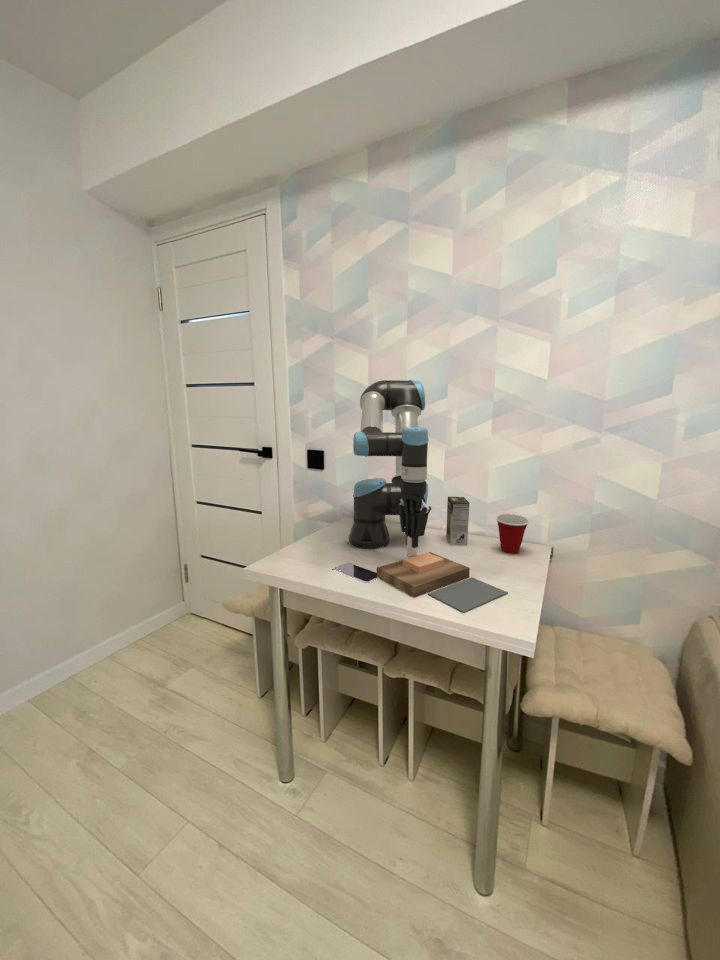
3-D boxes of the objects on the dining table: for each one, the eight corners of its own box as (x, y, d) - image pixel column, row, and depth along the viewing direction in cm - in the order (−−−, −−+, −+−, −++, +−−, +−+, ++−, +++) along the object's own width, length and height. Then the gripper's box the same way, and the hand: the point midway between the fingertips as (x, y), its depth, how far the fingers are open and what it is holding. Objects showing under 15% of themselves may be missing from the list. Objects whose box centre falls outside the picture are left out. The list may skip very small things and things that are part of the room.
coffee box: (445, 537, 156) (447, 496, 153) (462, 537, 155) (464, 496, 153) (449, 545, 147) (451, 501, 144) (467, 545, 146) (470, 502, 144)
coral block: (402, 565, 120) (402, 559, 120) (426, 558, 126) (427, 552, 125) (419, 573, 114) (419, 566, 114) (443, 565, 120) (444, 559, 120)
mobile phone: (367, 582, 114) (330, 568, 124) (367, 585, 115) (330, 571, 124) (384, 574, 120) (347, 561, 130) (383, 577, 120) (347, 564, 130)
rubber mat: (427, 594, 108) (427, 593, 108) (471, 578, 118) (471, 577, 118) (463, 613, 98) (463, 611, 98) (507, 593, 109) (508, 592, 109)
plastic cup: (497, 556, 136) (500, 522, 134) (490, 545, 146) (492, 513, 144) (531, 557, 135) (534, 522, 133) (521, 546, 146) (523, 514, 143)
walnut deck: (376, 577, 119) (376, 567, 119) (429, 560, 132) (430, 551, 131) (414, 597, 107) (414, 586, 106) (469, 577, 119) (469, 567, 119)
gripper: (389, 478, 123) (388, 553, 126) (419, 484, 112) (417, 565, 116) (408, 476, 127) (406, 548, 131) (439, 482, 116) (436, 560, 120)
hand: (411, 556), depth 123 cm, fingers closed
